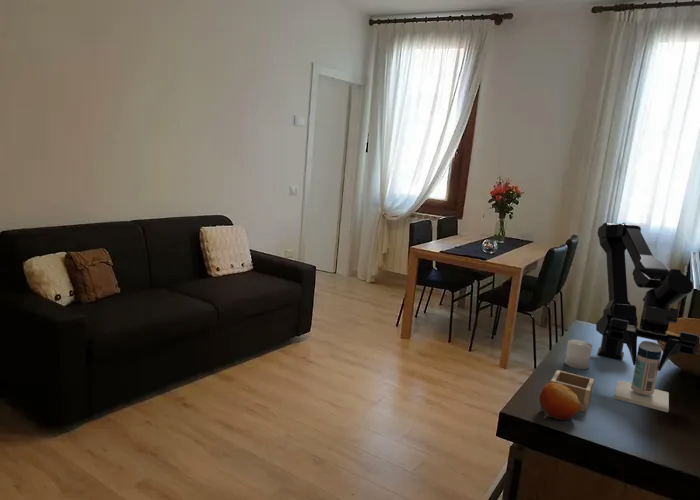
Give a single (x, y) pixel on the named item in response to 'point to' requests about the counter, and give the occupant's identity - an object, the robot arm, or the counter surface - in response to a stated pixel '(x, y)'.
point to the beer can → (646, 368)
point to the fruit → (559, 401)
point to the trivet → (642, 397)
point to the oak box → (576, 386)
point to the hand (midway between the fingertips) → (646, 367)
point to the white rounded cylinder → (578, 354)
